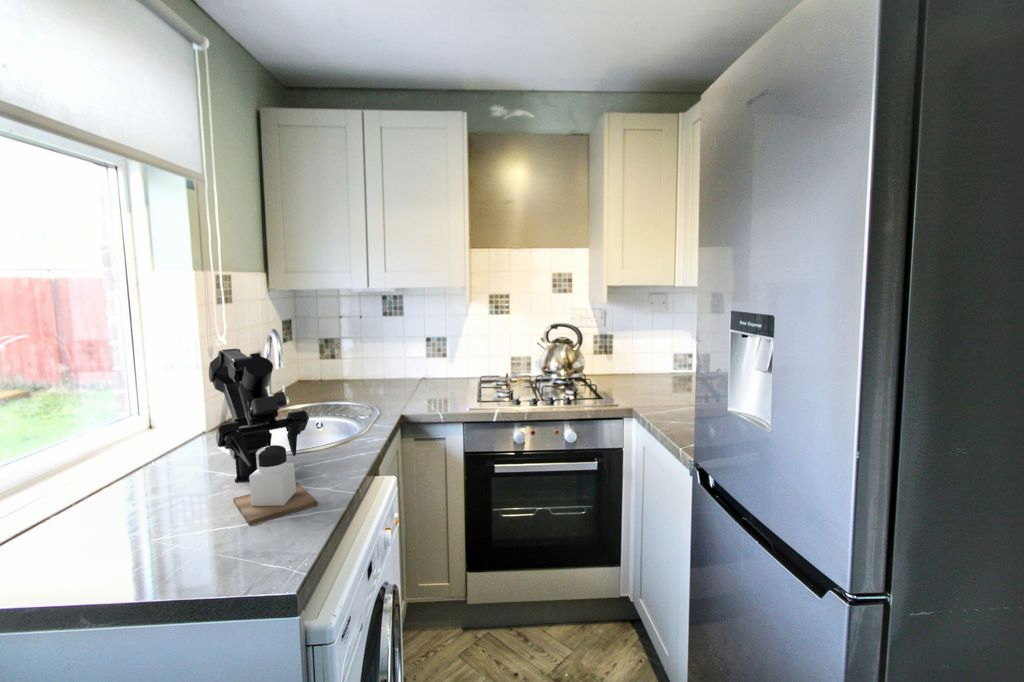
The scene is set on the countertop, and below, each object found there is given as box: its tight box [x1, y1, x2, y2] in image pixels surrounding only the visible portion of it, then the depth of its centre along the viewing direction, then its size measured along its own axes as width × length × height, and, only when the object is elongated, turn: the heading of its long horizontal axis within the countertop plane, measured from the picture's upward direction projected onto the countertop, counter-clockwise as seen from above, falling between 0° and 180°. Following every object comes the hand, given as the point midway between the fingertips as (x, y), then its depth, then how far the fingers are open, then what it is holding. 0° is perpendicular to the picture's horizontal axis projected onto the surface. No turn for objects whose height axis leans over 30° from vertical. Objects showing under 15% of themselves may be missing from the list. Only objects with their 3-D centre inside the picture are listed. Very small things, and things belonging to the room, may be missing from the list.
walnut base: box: [232, 481, 318, 526], centre depth 117 cm, size 14×14×1 cm
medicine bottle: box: [249, 444, 296, 506], centre depth 116 cm, size 7×7×12 cm
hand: (273, 460), depth 114 cm, fingers open, 9 cm apart
